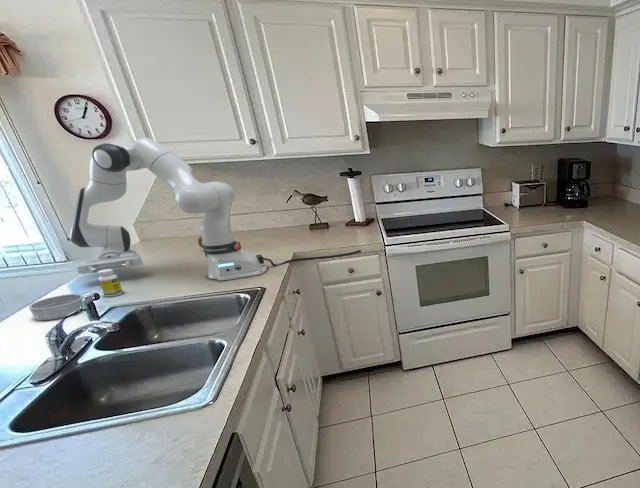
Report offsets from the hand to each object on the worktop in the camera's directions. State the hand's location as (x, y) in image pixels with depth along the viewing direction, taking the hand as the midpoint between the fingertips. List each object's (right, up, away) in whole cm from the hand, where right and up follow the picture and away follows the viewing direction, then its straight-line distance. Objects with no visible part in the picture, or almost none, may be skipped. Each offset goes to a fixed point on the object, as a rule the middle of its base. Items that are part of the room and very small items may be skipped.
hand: (109, 268), depth 165 cm
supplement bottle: (+7, -11, -6) cm, 14 cm away
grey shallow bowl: (+4, -17, -22) cm, 28 cm away
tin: (+6, +14, +55) cm, 57 cm away
